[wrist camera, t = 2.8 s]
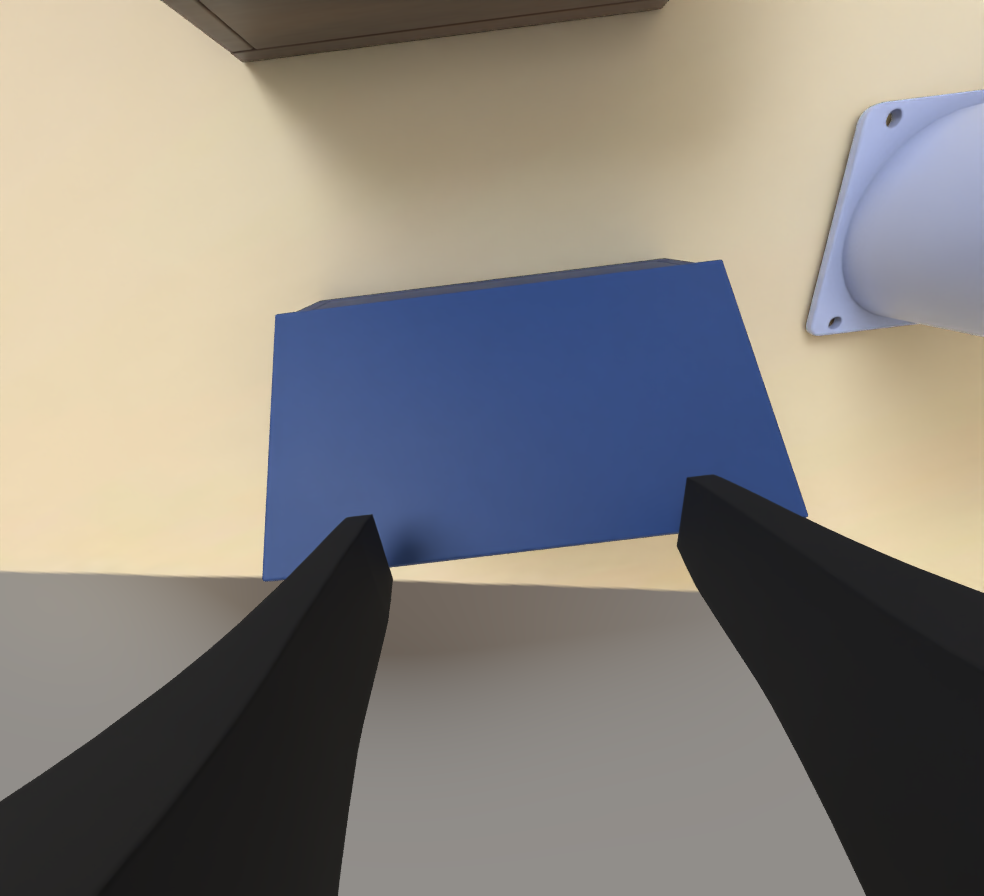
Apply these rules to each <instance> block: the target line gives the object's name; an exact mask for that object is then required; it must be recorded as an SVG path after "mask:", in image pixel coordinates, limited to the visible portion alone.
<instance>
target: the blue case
mask: <svg viewBox="0 0 984 896" xmlns="http://www.w3.org/2000/svg"><path fill="white" fill-rule="evenodd" d="M690 263H694V262H687V261H680V260H672V259H666V258H663V259H655V260H647V261H639V262H631V263H623V264H615V265H607V266H599V267H590V268H582V269H574V270H566V271H558V272H550V273H542V274H534V275H526V276H517V277H509V278H501V279H493V280H485V281H477V282H469V283H461V284H453V285H444V286H436V287H428V288H420V289H412V290H404V291H396V292H388V293H380V294H371V295H363V296H355V297H347V298H339V299H331V300H323V301H319V302H317V303H315V304H312V305H310V306H308V307H306V308H304V309H302V310H299V311H297V312H300V311H308V310H316V309H324V308H332V307H340V306H348V305H357V304H365V303H373V302H381V301H389V300H397V299H405V298H413V297H421V296H430V295H438V294H446V293H454V292H462V291H470V290H478V289H486V288H495V287H503V286H511V285H519V284H527V283H535V282H543V281H551V280H560V279H568V278H576V277H584V276H592V275H600V274H608V273H616V272H625V271H633V270H641V269H649V268H657V267H665V266H673V265H681V264H690Z"/></svg>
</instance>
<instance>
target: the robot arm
mask: <svg viewBox="0 0 984 896" xmlns="http://www.w3.org/2000/svg"><path fill="white" fill-rule="evenodd" d="M889 113H891V115H892V117H891V122H890V124H889V125H888V126H887V125H886V119H887V117H888V115H889ZM833 318H834V322H833V324H832V325H830V326H829V323H830V321H831V320H832V319H833ZM913 324H923V325H928V326H933V327H937V328H942V329H947V330H952V331H957V332H962V333H967V334H972V335H976V336H981V337H984V90H976V91H968V92H960V93H952V94H944V95H936V96H928V97H920V98H913V99H905V100H897V101H889V102H882V103H879V104H876V105H873V106H870V107H869V108H868V109H866V110H865V111H864V112H863V114H862V115H861V116H860V118H859V120H858V123H857V126H856V130H855V134H854V138H853V142H852V146H851V150H850V153H849V157H848V161H847V165H846V169H845V173H844V177H843V181H842V185H841V189H840V193H839V197H838V201H837V205H836V209H835V212H834V216H833V220H832V224H831V228H830V232H829V236H828V240H827V244H826V248H825V252H824V256H823V260H822V264H821V267H820V271H819V275H818V279H817V283H816V287H815V291H814V295H813V299H812V303H811V307H810V311H809V315H808V319H807V323H806V330H807V332H808V333H810V334H812V335H815V336H822V335H831V334H839V333H847V332H855V331H864V330H872V329H880V328H888V327H897V326H905V325H913ZM677 547H678V550H679V552H680V554H681V556H682V558H683V561H684V563H685V565H686V567H687V569H688V571H689V573H690V575H691V577H692V579H693V581H694V583H695V585H696V587H697V589H698V590H699V592H700V594H701V595H702V597H703V598H704V600H705V601H706V603H707V605H708V606H709V608H710V609H711V611H712V612H713V614H714V616H715V617H716V619H717V620H718V622H719V623H720V625H721V626H722V628H723V630H724V631H725V633H726V634H727V636H728V637H729V639H730V640H731V642H732V643H733V645H734V646H735V648H736V650H737V651H738V653H739V654H740V656H741V657H742V659H743V660H744V662H745V663H746V665H747V666H748V668H749V669H750V671H751V673H752V674H753V676H754V677H755V679H756V680H757V682H758V684H759V685H760V687H761V689H762V690H763V692H764V694H765V695H766V697H767V699H768V700H769V702H770V704H771V705H772V707H773V709H774V711H775V713H776V715H777V717H778V718H779V720H780V722H781V724H782V726H783V728H784V730H785V732H786V734H787V735H788V737H789V739H790V741H791V743H792V745H793V747H794V749H795V750H796V752H797V754H798V756H799V758H800V760H801V762H802V764H803V766H804V768H805V770H806V772H807V774H808V776H809V778H810V780H811V782H812V784H813V786H814V788H815V790H816V792H817V794H818V796H819V798H820V800H821V802H822V804H823V806H824V808H825V810H826V812H827V814H828V816H829V818H830V820H831V822H832V824H833V826H834V828H835V831H836V833H837V835H838V837H839V839H840V841H841V843H842V845H843V847H844V850H845V852H846V854H847V856H848V858H849V860H850V862H851V864H852V867H853V869H854V871H855V873H856V875H857V877H858V879H859V882H860V884H861V885H862V888H863V890H864V892H865V894H866V896H984V593H982V592H980V591H977V590H974V589H972V588H969V587H966V586H964V585H961V584H958V583H956V582H953V581H951V580H948V579H945V578H943V577H940V576H938V575H935V574H932V573H930V572H927V571H925V570H922V569H919V568H917V567H914V566H912V565H909V564H907V563H905V562H902V561H900V560H897V559H895V558H892V557H890V556H888V555H885V554H883V553H881V552H879V551H876V550H874V549H872V548H870V547H867V546H865V545H863V544H860V543H858V542H856V541H854V540H851V539H849V538H847V537H845V536H842V535H840V534H838V533H836V532H834V531H832V530H830V529H827V528H825V527H823V526H821V525H819V524H817V523H815V522H813V521H811V520H808V519H806V518H804V517H802V516H800V515H798V514H796V513H794V512H792V511H790V510H788V509H786V508H784V507H782V506H780V505H778V504H776V503H774V502H772V501H770V500H768V499H766V498H764V497H762V496H760V495H758V494H756V493H754V492H752V491H750V490H748V489H746V488H743V487H741V486H739V485H737V484H735V483H733V482H731V481H729V480H726V479H724V478H722V477H719V476H717V475H714V474H711V475H702V476H694V477H687V479H686V486H685V493H684V500H683V507H682V514H681V521H680V528H679V535H678V542H677ZM392 582H393V578H392V575H391V571H390V568H389V565H388V562H387V559H386V555H385V552H384V549H383V546H382V542H381V539H380V536H379V533H378V530H377V526H376V523H375V520H374V517H373V514H370V515H361V516H352V517H346V518H345V519H344V520H343V521H342V522H341V523H340V524H339V525H338V526H337V527H336V528H335V529H334V530H333V531H332V532H331V533H330V534H329V535H328V536H327V537H326V538H325V539H324V540H323V541H322V542H321V543H320V544H319V545H318V546H317V547H316V548H315V550H314V551H313V552H312V553H311V554H310V555H309V556H308V557H307V558H306V559H305V560H304V561H303V562H302V563H301V564H300V565H299V566H298V567H297V568H296V569H295V570H294V571H293V572H292V573H291V574H290V575H289V576H288V577H287V578H286V579H285V580H284V581H283V582H282V583H281V584H280V585H279V586H278V587H277V588H276V589H275V590H274V591H273V592H272V593H271V594H270V595H269V596H267V597H266V598H265V599H264V600H263V601H262V602H261V603H260V604H259V605H258V606H257V607H256V608H255V609H254V610H253V611H252V612H250V613H249V614H248V615H247V616H246V617H245V618H244V619H243V620H242V621H241V622H240V623H239V624H238V625H237V626H236V627H234V628H233V629H232V630H231V631H230V632H229V633H228V634H226V635H225V636H224V637H223V638H222V639H221V640H220V641H218V642H217V643H216V644H215V645H214V646H213V647H212V648H211V649H209V650H208V651H207V652H205V653H204V654H203V655H202V656H201V657H199V658H198V659H197V660H196V661H194V662H193V663H192V664H191V665H190V666H188V667H187V668H186V669H185V670H183V671H182V672H181V673H180V674H179V675H177V676H176V677H175V678H173V679H172V680H171V681H170V682H168V683H167V684H166V685H165V686H163V687H162V688H161V689H159V690H158V691H156V692H155V693H154V694H152V695H151V696H150V697H149V698H147V699H146V700H144V701H143V702H142V703H140V704H139V705H138V706H136V707H135V708H134V709H132V710H131V711H130V712H128V713H127V714H126V715H124V716H123V717H122V718H120V719H119V720H117V721H116V722H115V723H113V724H112V725H111V726H109V727H108V728H107V729H105V730H104V731H103V732H101V733H100V734H99V735H97V736H96V737H95V738H93V739H92V740H90V741H89V742H87V743H86V744H85V745H83V746H82V747H80V748H79V749H77V750H76V751H74V752H73V753H72V754H70V755H69V756H67V757H66V758H64V759H63V760H61V761H60V762H59V763H57V764H56V765H54V766H53V767H51V768H50V769H48V770H47V771H45V772H44V773H43V774H41V775H40V776H38V777H37V778H35V779H34V780H32V781H31V782H29V783H28V784H26V785H24V786H23V787H22V788H20V789H18V790H17V791H15V792H14V793H12V794H11V795H10V796H8V797H7V798H5V799H3V800H2V801H1V802H0V896H338V889H339V880H340V872H341V864H342V857H343V850H344V842H345V835H346V827H347V820H348V812H349V806H350V799H351V792H352V785H353V779H354V772H355V766H356V759H357V753H358V748H359V743H360V738H361V733H362V728H363V724H364V719H365V715H366V711H367V707H368V703H369V699H370V695H371V690H372V687H373V682H374V678H375V674H376V670H377V666H378V662H379V658H380V653H381V649H382V645H383V641H384V637H385V633H386V628H387V623H388V618H389V609H390V602H391V592H392Z"/></svg>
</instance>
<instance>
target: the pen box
mask: <svg viewBox="0 0 984 896" xmlns="http://www.w3.org/2000/svg"><path fill="white" fill-rule="evenodd" d="M161 1H163V2H164V3H165V4H167V5H168V6H169V7H171V8H172V9H173V10H175V11H176V12H177V13H179V14H180V15H181V16H183V17H184V18H185V19H187V20H188V21H189V22H191V23H192V24H193V25H195V26H196V27H197V28H199V29H200V30H201V31H203V32H204V33H205V34H207V35H208V36H209V37H211V38H212V39H213V40H215V41H216V42H217V43H219V44H220V45H221V46H223V47H224V48H225V49H227V50H228V51H230V53H231V54H232V55H234V56H235V57H236V58H238V59H239V60H240V61H242V62H250V61H257V60H265V59H273V58H281V57H289V56H296V55H304V54H312V53H320V52H328V51H335V50H343V49H351V48H359V47H367V46H374V45H382V44H390V43H398V42H406V41H413V40H421V39H429V38H437V37H445V36H452V35H460V34H468V33H476V32H484V31H491V30H499V29H507V28H515V27H522V26H530V25H538V24H546V23H554V22H561V21H569V20H577V19H585V18H593V17H600V16H608V15H616V14H624V13H632V12H639V11H647V10H655V9H661V8H663V7H664V5H665V4H666V3H667V2H668V1H669V0H161Z"/></svg>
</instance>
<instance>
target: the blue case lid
mask: <svg viewBox="0 0 984 896" xmlns="http://www.w3.org/2000/svg"><path fill="white" fill-rule="evenodd" d="M711 474H714V475H717V476H719V477H722V478H724V479H726V480H729V481H731V482H733V483H735V484H737V485H739V486H741V487H743V488H746V489H748V490H750V491H752V492H754V493H756V494H758V495H760V496H762V497H764V498H766V499H768V500H770V501H772V502H774V503H776V504H778V505H780V506H782V507H784V508H786V509H788V510H790V511H792V512H794V513H796V514H798V515H800V516H802V517H804V518H806V517H808V513H807V510H806V507H805V504H804V501H803V498H802V495H801V492H800V489H799V486H798V483H797V480H796V477H795V474H794V472H793V469H792V466H791V463H790V460H789V457H788V454H787V451H786V448H785V445H784V442H783V439H782V436H781V433H780V430H779V427H778V424H777V421H776V418H775V415H774V412H773V409H772V406H771V403H770V400H769V397H768V394H767V391H766V388H765V385H764V382H763V380H762V377H761V374H760V371H759V368H758V365H757V362H756V359H755V356H754V353H753V350H752V347H751V344H750V341H749V338H748V335H747V332H746V329H745V326H744V323H743V320H742V317H741V314H740V311H739V308H738V305H737V302H736V299H735V296H734V293H733V291H732V288H731V285H730V282H729V279H728V276H727V273H726V270H725V267H724V264H723V261H722V260H714V261H706V262H698V263H690V264H681V265H673V266H665V267H657V268H649V269H641V270H633V271H625V272H616V273H608V274H600V275H592V276H584V277H576V278H568V279H560V280H551V281H543V282H535V283H527V284H519V285H511V286H503V287H495V288H486V289H478V290H470V291H462V292H454V293H446V294H438V295H430V296H421V297H413V298H405V299H397V300H389V301H381V302H373V303H365V304H357V305H348V306H340V307H332V308H324V309H316V310H308V311H300V312H292V313H283V314H277V315H276V316H275V334H274V354H273V375H272V395H271V415H270V435H269V456H268V476H267V496H266V516H265V537H264V557H263V577H262V579H263V581H278V580H285V579H286V578H287V577H288V576H289V575H290V574H291V573H292V572H293V571H294V570H295V569H296V568H297V567H298V566H299V565H300V564H301V563H302V562H303V561H304V560H305V559H306V558H307V557H308V556H309V555H310V554H311V553H312V552H313V551H314V550H315V548H316V547H317V546H318V545H319V544H320V543H321V542H322V541H323V540H324V539H325V538H326V537H327V536H328V535H329V534H330V533H331V532H332V531H333V530H334V529H335V528H336V527H337V526H338V525H339V524H340V523H341V522H342V521H343V520H344V519H345V518H346V517H352V516H361V515H370V514H373V517H374V520H375V523H376V526H377V530H378V533H379V536H380V539H381V542H382V546H383V549H384V552H385V555H386V559H387V562H388V565H389V568H390V567H398V566H407V565H415V564H424V563H432V562H441V561H449V560H458V559H466V558H475V557H483V556H492V555H500V554H509V553H517V552H526V551H534V550H543V549H551V548H559V547H568V546H576V545H585V544H593V543H602V542H610V541H619V540H627V539H636V538H644V537H653V536H661V535H670V534H678V533H679V528H680V521H681V514H682V507H683V500H684V493H685V486H686V479H687V477H694V476H702V475H711Z"/></svg>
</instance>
